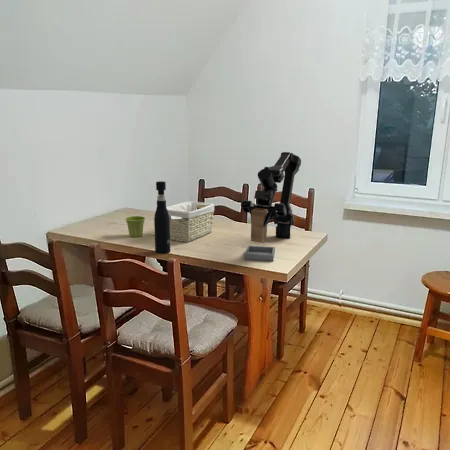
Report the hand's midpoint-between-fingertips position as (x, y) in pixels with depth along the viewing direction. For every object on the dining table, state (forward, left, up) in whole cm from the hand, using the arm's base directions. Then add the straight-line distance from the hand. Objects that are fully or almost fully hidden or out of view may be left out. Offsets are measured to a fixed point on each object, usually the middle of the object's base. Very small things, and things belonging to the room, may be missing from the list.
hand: (257, 225), depth 184 cm
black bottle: (+40, 0, -14) cm, 43 cm away
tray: (-1, -1, -13) cm, 14 cm away
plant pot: (+60, -22, -14) cm, 66 cm away
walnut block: (0, -1, -7) cm, 7 cm away
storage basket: (+36, -27, -14) cm, 47 cm away
